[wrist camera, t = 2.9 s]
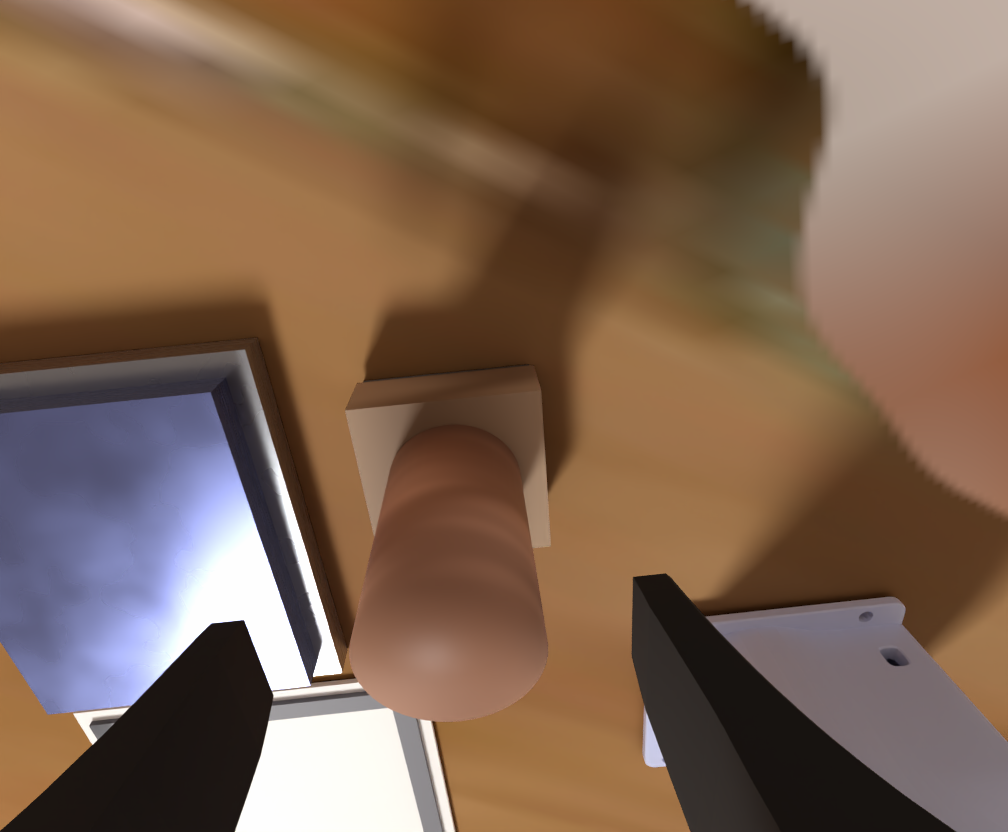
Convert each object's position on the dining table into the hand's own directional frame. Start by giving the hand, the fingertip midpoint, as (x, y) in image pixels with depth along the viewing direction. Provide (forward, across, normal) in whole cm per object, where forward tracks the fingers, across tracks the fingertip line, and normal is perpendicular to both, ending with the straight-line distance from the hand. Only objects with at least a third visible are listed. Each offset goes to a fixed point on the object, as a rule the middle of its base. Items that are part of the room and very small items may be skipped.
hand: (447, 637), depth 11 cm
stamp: (+8, 0, 0) cm, 8 cm away
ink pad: (+8, +10, +2) cm, 13 cm away
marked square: (+8, +9, +16) cm, 20 cm away
